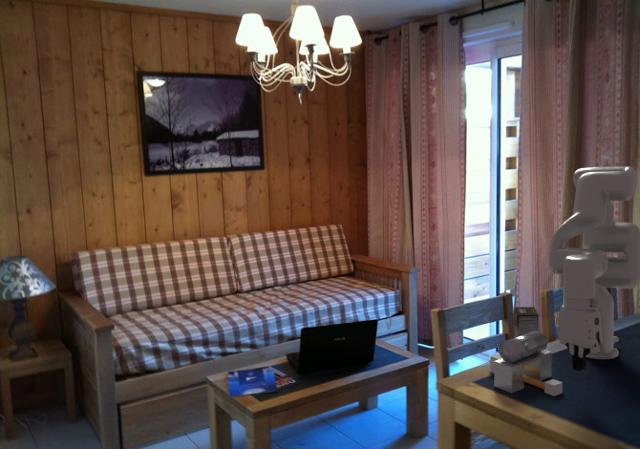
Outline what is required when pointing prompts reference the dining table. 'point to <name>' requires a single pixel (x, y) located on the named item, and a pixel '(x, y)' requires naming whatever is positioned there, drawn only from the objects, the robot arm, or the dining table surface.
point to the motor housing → (522, 361)
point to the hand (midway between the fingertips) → (579, 368)
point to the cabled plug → (534, 380)
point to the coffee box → (525, 320)
